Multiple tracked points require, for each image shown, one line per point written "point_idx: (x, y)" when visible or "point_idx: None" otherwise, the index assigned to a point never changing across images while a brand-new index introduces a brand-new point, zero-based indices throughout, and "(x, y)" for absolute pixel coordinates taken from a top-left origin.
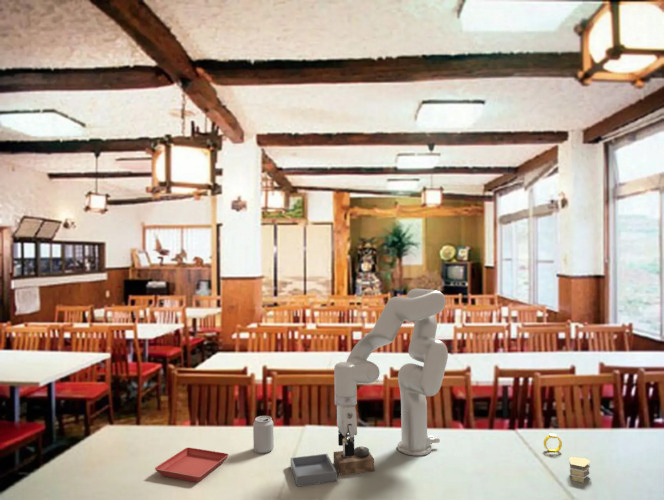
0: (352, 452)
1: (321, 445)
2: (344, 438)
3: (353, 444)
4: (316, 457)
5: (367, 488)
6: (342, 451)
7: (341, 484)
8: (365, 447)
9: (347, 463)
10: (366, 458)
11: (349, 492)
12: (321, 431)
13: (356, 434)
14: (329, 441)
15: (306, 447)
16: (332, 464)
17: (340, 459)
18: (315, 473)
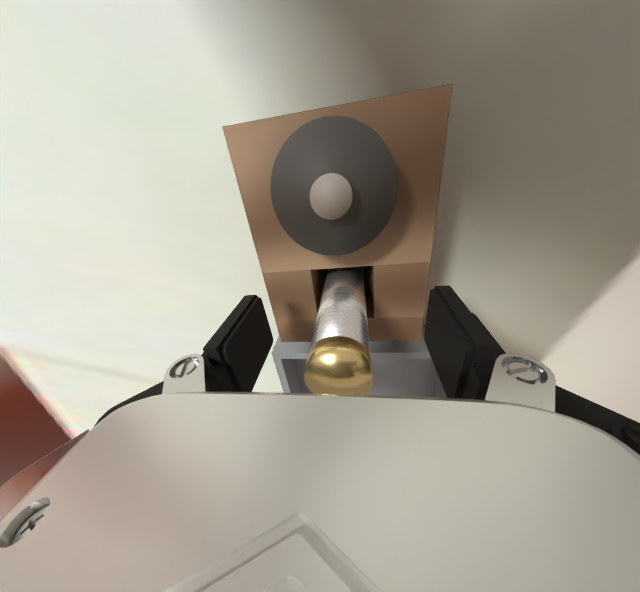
0: (476, 317)
1: (139, 323)
2: (329, 390)
3: (491, 348)
4: (290, 380)
5: (611, 203)
6: (279, 303)
7: (489, 313)
8: (290, 147)
9: (424, 300)
10: (417, 164)
11: (580, 296)
12: (10, 304)
13: (624, 445)
14: (91, 291)
15: (169, 366)
16: (387, 353)
17: (377, 329)
18: (374, 377)
